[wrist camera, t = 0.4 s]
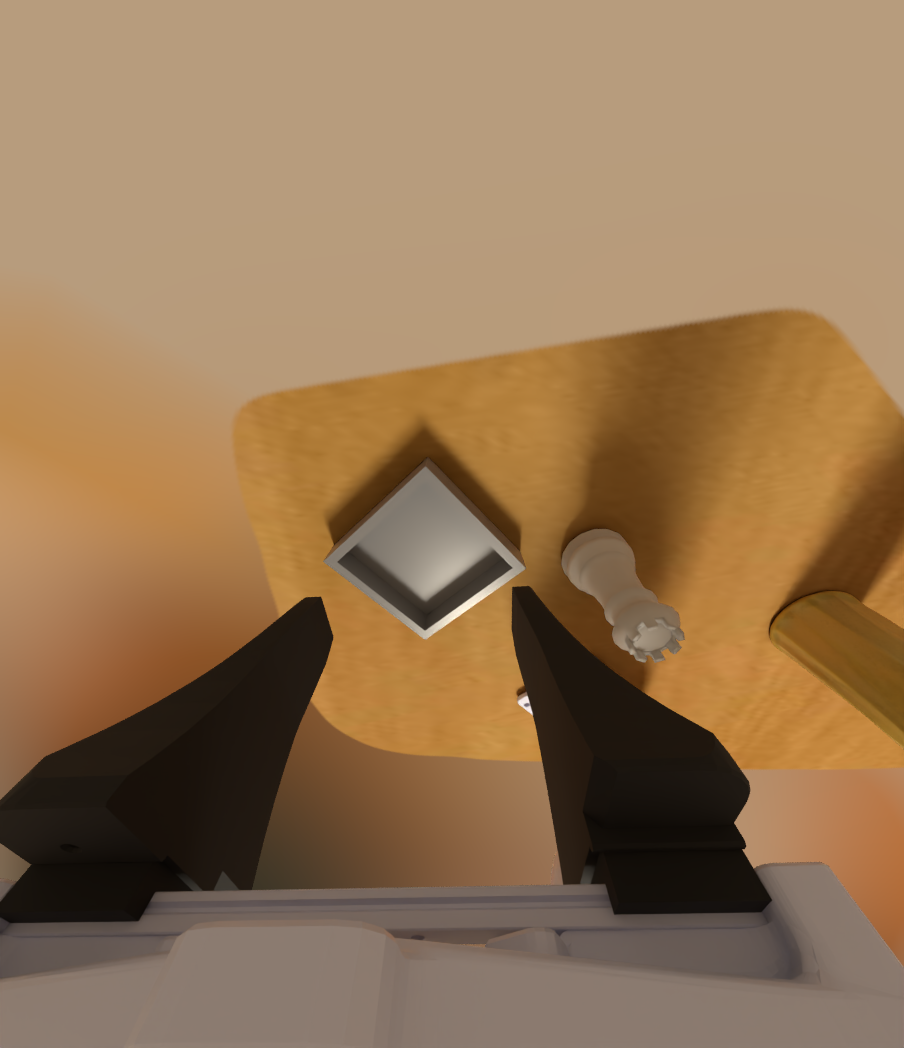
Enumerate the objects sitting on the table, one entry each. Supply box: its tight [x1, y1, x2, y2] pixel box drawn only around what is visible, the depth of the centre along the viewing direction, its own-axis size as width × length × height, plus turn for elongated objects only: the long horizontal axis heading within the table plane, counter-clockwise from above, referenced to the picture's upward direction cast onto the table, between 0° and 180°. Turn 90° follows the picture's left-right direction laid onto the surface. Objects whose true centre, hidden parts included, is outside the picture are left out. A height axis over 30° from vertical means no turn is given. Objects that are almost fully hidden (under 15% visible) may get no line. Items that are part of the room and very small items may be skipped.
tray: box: [323, 457, 526, 639], centre depth 21 cm, size 9×9×2 cm
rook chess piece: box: [561, 529, 685, 663], centre depth 19 cm, size 4×4×8 cm
